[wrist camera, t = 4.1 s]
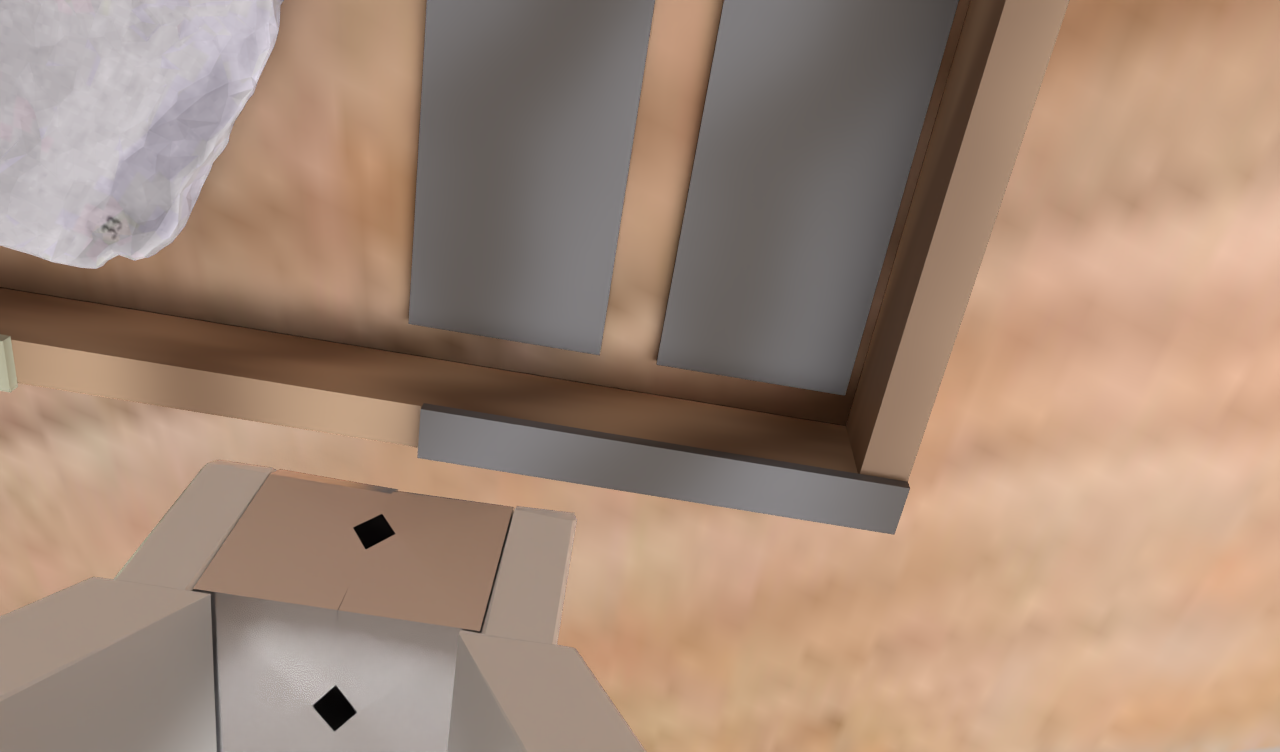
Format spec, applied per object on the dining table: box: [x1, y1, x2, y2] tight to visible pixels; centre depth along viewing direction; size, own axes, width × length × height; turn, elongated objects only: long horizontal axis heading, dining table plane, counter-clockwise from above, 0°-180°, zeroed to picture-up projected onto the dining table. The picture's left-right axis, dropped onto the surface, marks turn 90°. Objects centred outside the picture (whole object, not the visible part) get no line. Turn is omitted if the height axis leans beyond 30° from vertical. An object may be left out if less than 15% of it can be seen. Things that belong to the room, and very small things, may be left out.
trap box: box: [0, 0, 1069, 534], centre depth 22 cm, size 34×18×4 cm, turn 81°
